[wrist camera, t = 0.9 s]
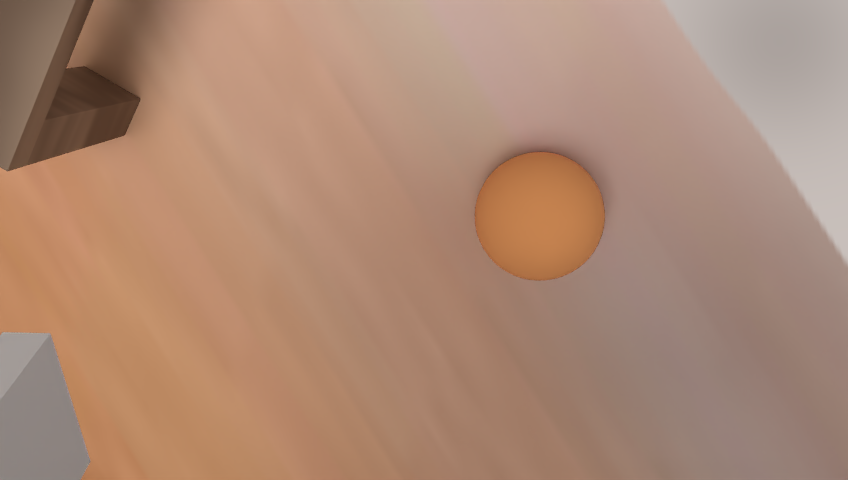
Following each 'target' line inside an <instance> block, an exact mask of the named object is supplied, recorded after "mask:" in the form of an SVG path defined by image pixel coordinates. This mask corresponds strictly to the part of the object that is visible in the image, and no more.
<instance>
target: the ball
mask: <svg viewBox="0 0 848 480" xmlns="http://www.w3.org/2000/svg"><path fill="white" fill-rule="evenodd" d="M604 222H605V210H604V204H603V199H602V196H601V193H600V191H599V188H598V186H597V185H596V183H595V181H594V180H593V178H592V177H591V176H590V175H589V174H588V172H587V171H586V170H584V169H583V168H582V167H581V166H580V165H579V164H577V163H576V162H574V161H573V160H571V159H569V158H567V157H564V156H561V155H558V154H554V153H549V152H531V153H526V154H522V155H519V156H516V157H514V158H512V159H509V160H508V161H506V162H504V163H503V164H501V165H500V166H499V167H498V168H497V169H495V170H494V171H493V172H492V174H491V175H490V176H489V177H488V178H487V180H486V181H485V183H484V185H483V187H482V188H481V190H480V193H479V195H478V198H477V202H476V207H475V226H476V231H477V235H478V238H479V240H480V243H481V245H482V247H483V249H484V250H485V251H486V253H487V254H488V256H489V257H490V258H491V259H492V260H493V262H494V263H496V264H497V265H498V266H499V267H500V268H502V269H503V270H505V271H506V272H508V273H510V274H512V275H514V276H517V277H520V278H524V279H528V280H550V279H555V278H559V277H562V276H564V275H567V274H569V273H571V272H573V271H574V270H576V269H577V268H579V267H580V266H581V265H583V264H584V263H585V262H586V261H587V260H588V259H589V257H590V256H591V255H592V254H593V252H594V251H595V249H596V247H597V245H598V243H599V241H600V239H601V236H602V233H603V229H604Z"/></svg>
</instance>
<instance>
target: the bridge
mask: <svg viewBox="0 0 848 480" xmlns="http://www.w3.org/2000/svg"><path fill="white" fill-rule="evenodd" d="M92 3H93V0H0V167H1V168H2V169H4V170H6V171H10V170H13V169H17V168H20V167H23V166H26V165H30V164H33V163H36V162H39V161H43V160H46V159H49V158H52V157H56V156H59V155H62V154H65V153H69V152H72V151H75V150H78V149H82V148H85V147H88V146H92V145H95V144H98V143H101V142H105V141H108V140H111V139H114V138H118V137H121V136H124V135H125V133H126V130H127V128H128V126H129V124H130V121H131V119H132V117H133V115H134V112H135V110H136V108H137V106H138V103H139V101H140V98H138V97H136V96H135V95H133V94H131V93H129V92H128V91H126V90H124V89H122V88H121V87H119V86H117V85H115V84H114V83H112V82H110V81H109V80H107V79H105V78H103V77H102V76H100V75H98V74H96V73H95V72H93V71H91V70H89V69H88V68H86V67H76V68H67V69H66V67H67V64H68V62H69V59H70V57H71V55H72V52H73V50H74V47H75V45H76V42H77V40H78V37H79V35H80V32H81V30H82V27H83V25H84V22H85V20H86V18H87V15H88V13H89V10H90V8H91V5H92Z"/></svg>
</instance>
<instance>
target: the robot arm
mask: <svg viewBox="0 0 848 480" xmlns="http://www.w3.org/2000/svg"><path fill="white" fill-rule="evenodd" d="M89 463H90V459H89V455H88V452H87V449H86V446H85V443H84V439H83V436H82V433H81V430H80V426H79V423H78V420H77V417H76V414H75V410H74V407H73V404H72V401H71V398H70V394H69V391H68V388H67V385H66V382H65V378H64V375H63V372H62V369H61V366H60V362H59V359H58V356H57V353H56V350H55V346H54V343H53V340H52V337H51V334H50V333H9V332H2V334H1V335H0V480H80V479H81V478H82V476H83V474H84V472H85V470H86V468H87V467H88V465H89Z"/></svg>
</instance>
